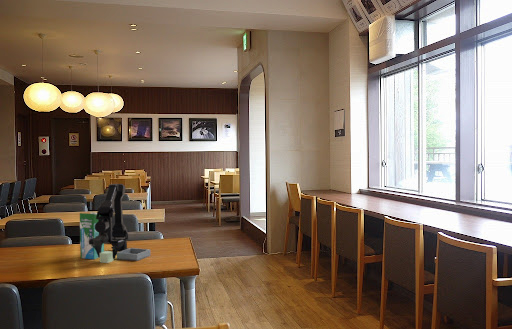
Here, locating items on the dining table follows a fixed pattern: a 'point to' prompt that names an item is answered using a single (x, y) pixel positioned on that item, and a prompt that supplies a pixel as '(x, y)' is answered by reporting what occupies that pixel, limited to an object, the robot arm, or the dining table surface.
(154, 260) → the dining table surface
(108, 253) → the sage cube
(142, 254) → the slate bin
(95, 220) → the milk carton
